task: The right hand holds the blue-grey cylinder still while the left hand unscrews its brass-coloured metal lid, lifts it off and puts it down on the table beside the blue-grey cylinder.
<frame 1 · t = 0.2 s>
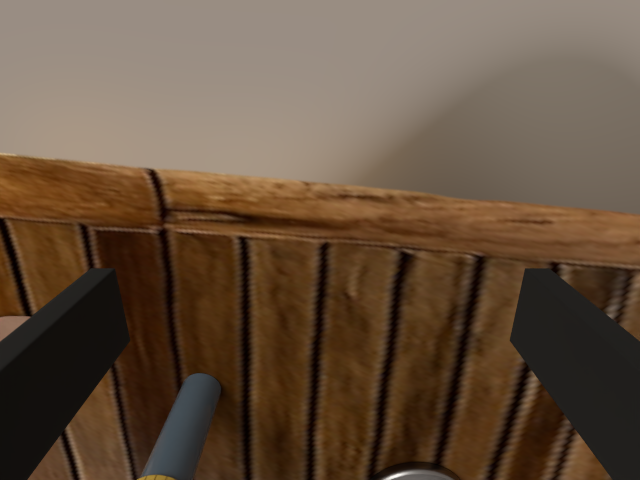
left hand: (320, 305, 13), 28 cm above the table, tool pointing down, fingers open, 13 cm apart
anatomical model: (18, 357, 48), on the table
blue-grey cylinder: (202, 388, 50), on the table
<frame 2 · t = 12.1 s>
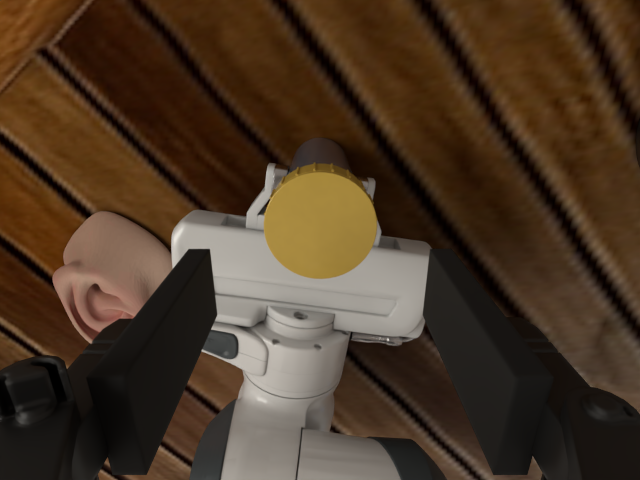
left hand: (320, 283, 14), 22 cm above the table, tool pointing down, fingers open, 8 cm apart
right hand: (321, 171, 28), fingers closed on blue-grey cylinder, 5 cm apart
lid: (320, 226, 20), point 16 cm above the table, screwed on, not yet turned
anatomical model: (124, 278, 39), on the table
blue-grey cylinder: (320, 165, 35), on the table, touching right hand
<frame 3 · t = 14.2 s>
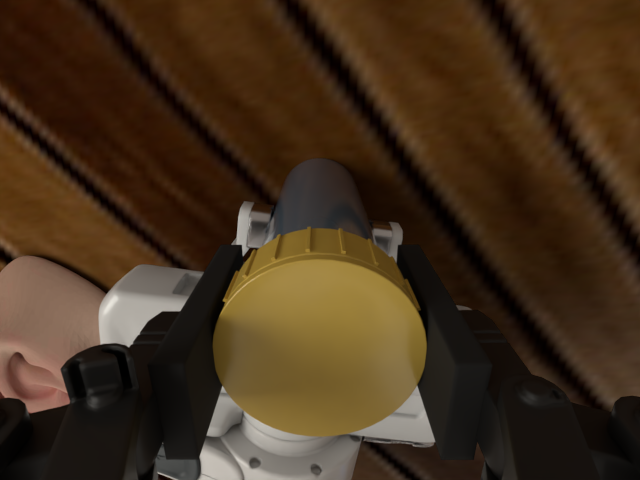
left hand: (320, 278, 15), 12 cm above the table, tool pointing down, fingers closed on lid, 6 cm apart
lid: (319, 349, 11), point 16 cm above the table, screwed on, not yet turned, touching left hand
anatomical model: (62, 339, 30), on the table
blue-grey cylinder: (319, 195, 25), on the table, touching right hand
when the left hand's fingers open (0 cm above the table, at t = 30.8 s): lid drops 2 cm, point 2 cm above the table.
when the right hand's fingers open (7 cm above the table, at t = 31.5 s): blue-grey cylinder stays where it is, on the table.
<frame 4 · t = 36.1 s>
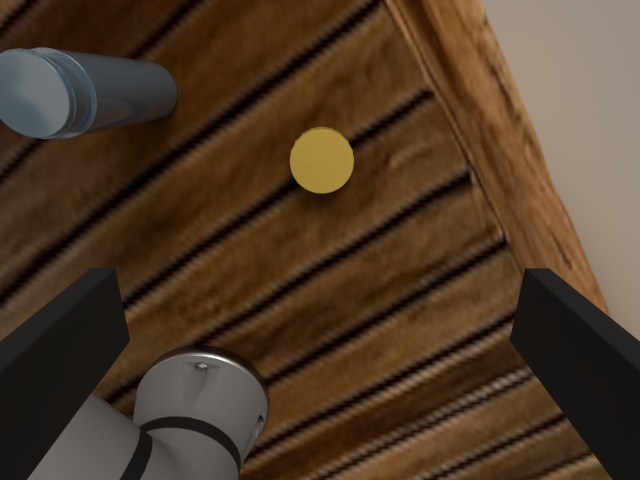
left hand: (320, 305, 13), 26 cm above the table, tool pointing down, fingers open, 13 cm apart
lid: (321, 161, 35), point 2 cm above the table, off its thread
blue-grey cylinder: (150, 91, 35), on the table
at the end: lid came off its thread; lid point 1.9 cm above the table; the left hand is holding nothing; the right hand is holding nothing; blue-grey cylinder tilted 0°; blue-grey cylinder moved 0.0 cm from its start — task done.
